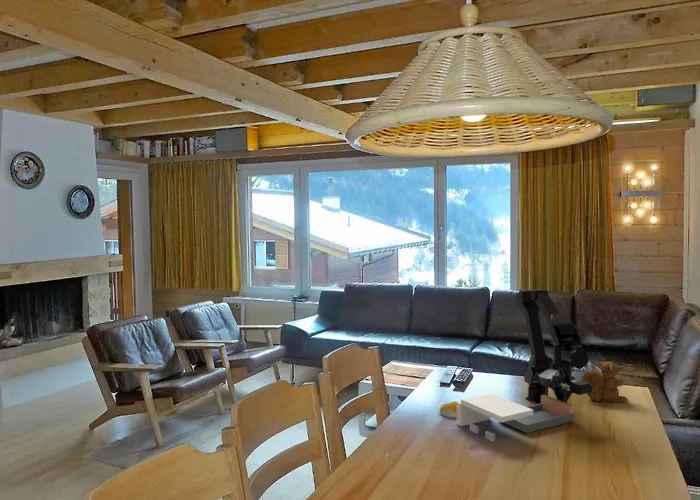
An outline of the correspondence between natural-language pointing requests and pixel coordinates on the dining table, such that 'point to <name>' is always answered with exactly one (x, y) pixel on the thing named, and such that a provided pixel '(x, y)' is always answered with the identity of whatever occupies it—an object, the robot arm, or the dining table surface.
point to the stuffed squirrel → (605, 383)
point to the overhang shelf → (488, 411)
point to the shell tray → (544, 415)
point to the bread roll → (449, 410)
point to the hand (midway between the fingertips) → (561, 408)
